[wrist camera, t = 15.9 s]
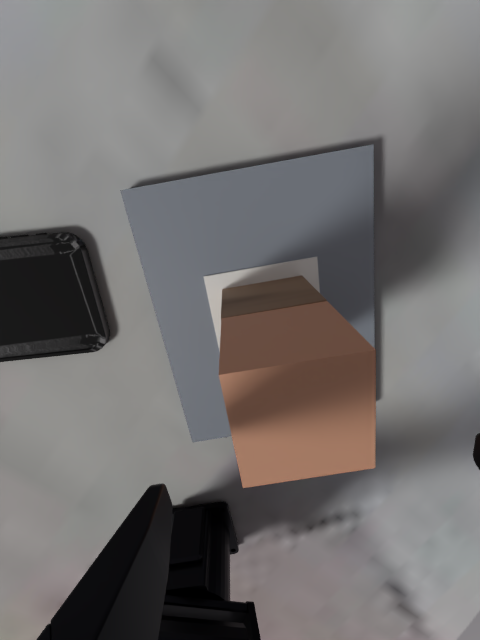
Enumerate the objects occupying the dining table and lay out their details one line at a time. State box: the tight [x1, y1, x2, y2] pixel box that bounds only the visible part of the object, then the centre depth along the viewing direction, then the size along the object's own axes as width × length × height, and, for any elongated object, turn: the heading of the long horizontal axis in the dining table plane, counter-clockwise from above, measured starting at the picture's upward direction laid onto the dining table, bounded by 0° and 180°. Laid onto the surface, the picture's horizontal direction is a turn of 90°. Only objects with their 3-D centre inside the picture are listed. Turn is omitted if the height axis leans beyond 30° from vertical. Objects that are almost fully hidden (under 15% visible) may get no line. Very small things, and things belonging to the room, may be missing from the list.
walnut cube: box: [221, 275, 327, 318], centre depth 18 cm, size 5×5×5 cm
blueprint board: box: [120, 144, 375, 442], centre depth 20 cm, size 18×14×1 cm
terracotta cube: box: [219, 301, 376, 488], centre depth 13 cm, size 5×5×5 cm
